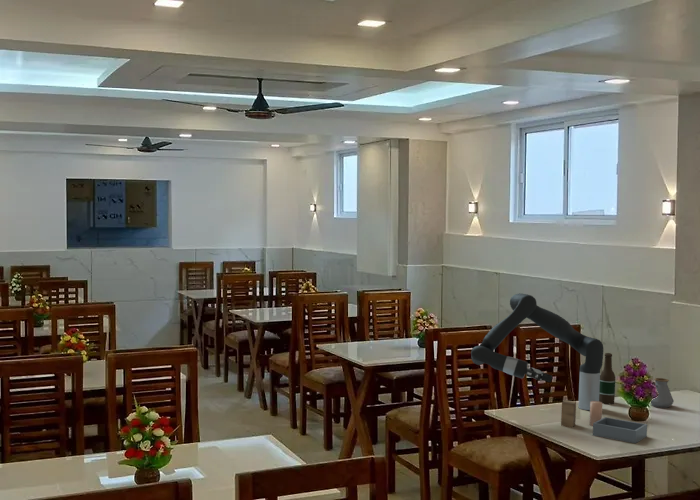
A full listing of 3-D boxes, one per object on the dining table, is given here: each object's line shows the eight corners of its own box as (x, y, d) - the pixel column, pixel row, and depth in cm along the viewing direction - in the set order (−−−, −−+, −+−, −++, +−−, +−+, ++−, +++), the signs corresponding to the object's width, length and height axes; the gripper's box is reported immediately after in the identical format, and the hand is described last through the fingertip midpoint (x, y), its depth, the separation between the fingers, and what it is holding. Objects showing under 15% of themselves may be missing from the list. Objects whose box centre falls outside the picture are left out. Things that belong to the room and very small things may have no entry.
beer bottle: (617, 402, 398) (619, 353, 397) (610, 405, 392) (612, 355, 391) (602, 399, 403) (604, 351, 402) (595, 402, 398) (597, 353, 397)
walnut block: (563, 423, 357) (564, 400, 356) (575, 424, 354) (576, 401, 354) (561, 425, 352) (561, 402, 352) (572, 427, 350) (573, 404, 349)
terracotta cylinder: (592, 423, 358) (592, 400, 357) (603, 425, 355) (604, 402, 354) (587, 425, 354) (588, 402, 353) (599, 427, 351) (599, 404, 350)
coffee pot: (660, 402, 401) (661, 371, 401) (678, 407, 391) (680, 376, 390) (627, 405, 392) (628, 374, 391) (645, 411, 382) (646, 379, 381)
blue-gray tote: (604, 428, 349) (605, 417, 348) (646, 436, 338) (647, 424, 338) (592, 435, 338) (593, 423, 337) (635, 443, 327) (636, 431, 327)
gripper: (516, 360, 353) (553, 372, 348) (518, 357, 367) (554, 369, 362) (511, 376, 353) (548, 389, 349) (514, 373, 367) (549, 385, 362)
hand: (551, 379), depth 355 cm, fingers open, 8 cm apart
